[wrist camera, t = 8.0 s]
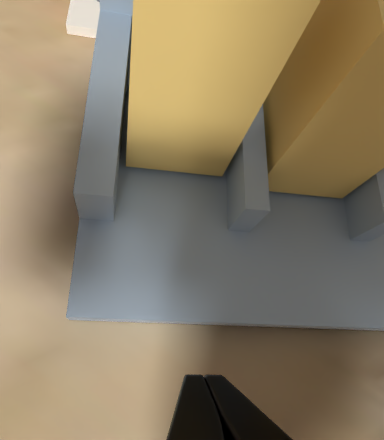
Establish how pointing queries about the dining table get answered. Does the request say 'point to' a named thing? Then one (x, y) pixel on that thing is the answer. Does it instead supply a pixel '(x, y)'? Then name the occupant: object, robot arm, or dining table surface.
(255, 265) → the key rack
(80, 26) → the card
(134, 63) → the key
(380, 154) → the key middle
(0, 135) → the dining table surface
